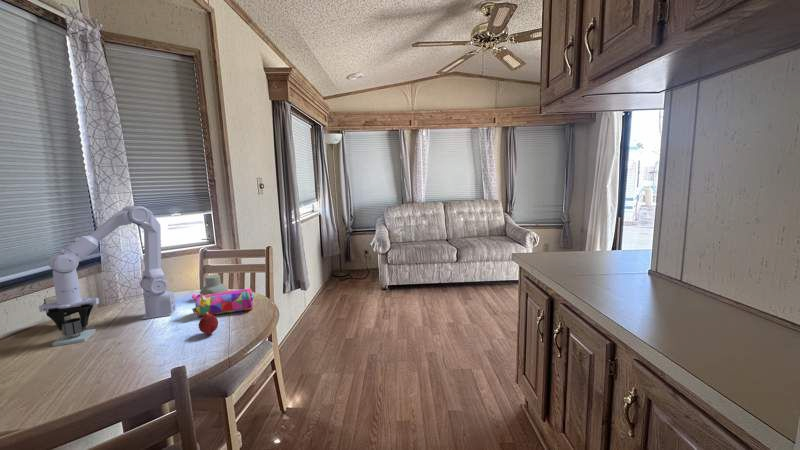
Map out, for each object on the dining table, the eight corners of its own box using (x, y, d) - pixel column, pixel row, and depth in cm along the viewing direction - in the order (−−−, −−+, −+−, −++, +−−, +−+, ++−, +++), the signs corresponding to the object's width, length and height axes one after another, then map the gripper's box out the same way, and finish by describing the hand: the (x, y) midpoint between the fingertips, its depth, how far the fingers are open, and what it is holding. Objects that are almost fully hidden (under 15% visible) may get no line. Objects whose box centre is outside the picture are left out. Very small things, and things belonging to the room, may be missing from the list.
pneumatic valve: (69, 329, 117) (64, 297, 116) (45, 326, 120) (40, 295, 118) (86, 323, 123) (82, 292, 121) (64, 320, 125) (59, 290, 124)
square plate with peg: (95, 331, 115) (94, 320, 115) (84, 341, 108) (83, 330, 108) (66, 335, 112) (64, 325, 112) (52, 346, 105) (50, 334, 105)
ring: (88, 327, 113) (86, 316, 113) (80, 333, 109) (78, 322, 108) (68, 330, 111) (66, 319, 111) (59, 336, 106) (57, 325, 106)
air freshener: (231, 294, 152) (229, 274, 150) (218, 301, 144) (216, 279, 142) (211, 293, 154) (209, 273, 152) (197, 299, 146) (195, 278, 144)
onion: (222, 332, 113) (220, 310, 112) (207, 339, 108) (204, 316, 107) (211, 329, 116) (209, 308, 115) (196, 336, 111) (193, 314, 109)
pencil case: (191, 321, 123) (189, 298, 122) (197, 312, 132) (195, 291, 131) (254, 312, 131) (252, 291, 129) (255, 304, 139) (253, 284, 138)
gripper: (30, 296, 101) (37, 337, 103) (89, 289, 107) (95, 328, 109) (44, 289, 108) (50, 328, 110) (99, 283, 114) (104, 320, 115)
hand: (73, 327), depth 110 cm, fingers closed on ring, 5 cm apart
